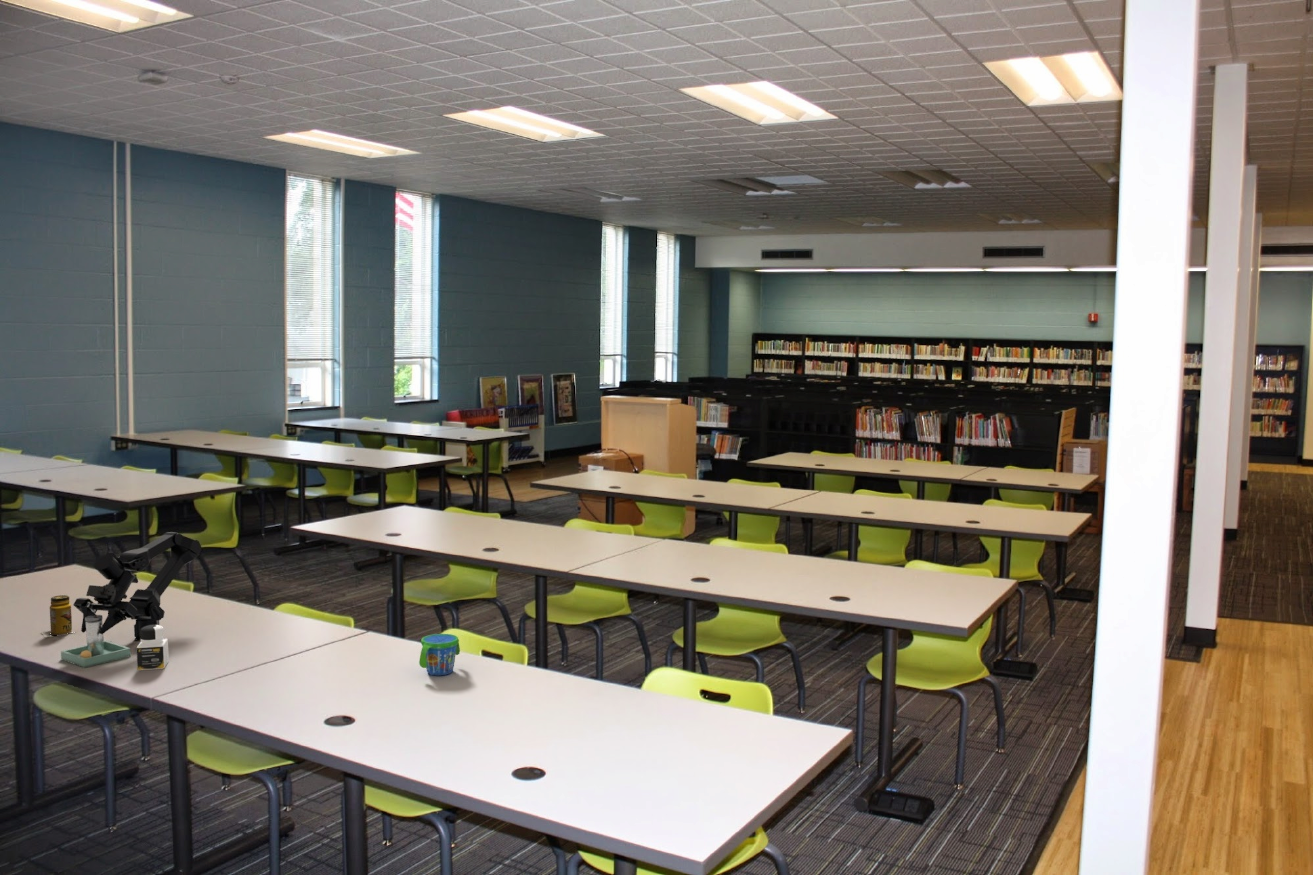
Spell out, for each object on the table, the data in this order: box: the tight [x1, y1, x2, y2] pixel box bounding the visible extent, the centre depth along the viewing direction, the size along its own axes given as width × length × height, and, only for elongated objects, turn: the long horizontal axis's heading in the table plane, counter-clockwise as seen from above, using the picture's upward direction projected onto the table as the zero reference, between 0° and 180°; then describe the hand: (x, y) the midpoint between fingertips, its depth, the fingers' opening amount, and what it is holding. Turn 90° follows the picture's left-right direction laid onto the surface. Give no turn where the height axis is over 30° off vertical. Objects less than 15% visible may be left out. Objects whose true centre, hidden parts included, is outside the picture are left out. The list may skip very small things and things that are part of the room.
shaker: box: [85, 614, 105, 657], centre depth 306 cm, size 5×5×12 cm
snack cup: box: [418, 633, 461, 676], centre depth 296 cm, size 16×10×10 cm
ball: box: [80, 650, 92, 658], centre depth 302 cm, size 3×3×3 cm
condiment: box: [40, 594, 76, 638], centre depth 331 cm, size 7×8×12 cm
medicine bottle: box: [136, 624, 169, 671], centre depth 299 cm, size 7×7×12 cm
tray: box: [60, 640, 132, 669], centre depth 306 cm, size 14×14×2 cm
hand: (91, 632), depth 304 cm, fingers open, 6 cm apart
